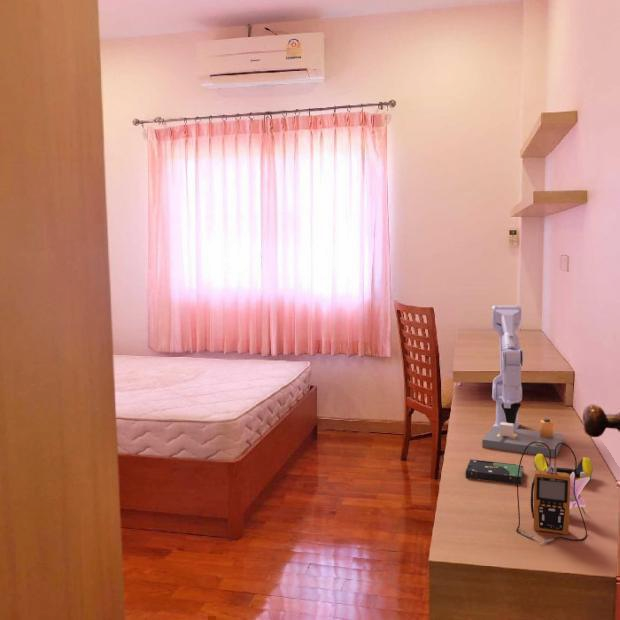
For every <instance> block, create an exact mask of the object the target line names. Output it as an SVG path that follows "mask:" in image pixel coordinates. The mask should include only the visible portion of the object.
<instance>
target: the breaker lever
mask: <svg viewBox="0 0 620 620" xmlns="http://www.w3.org/2000/svg"><path fill="white" fill-rule="evenodd" d="M499 435H502V436H509V437H512V436H513V435H514V424H513V423H505V422H501V423H500V424H499Z"/></svg>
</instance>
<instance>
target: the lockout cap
mask: <svg viewBox="0 0 620 620" xmlns="http://www.w3.org/2000/svg"><path fill="white" fill-rule="evenodd" d="M539 431H540V437H543V438H553V433H554V421H553V420H552V419H550V418H543V419H540V422H539Z"/></svg>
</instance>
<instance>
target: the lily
mask: <svg viewBox="0 0 620 620" xmlns="http://www.w3.org/2000/svg"><path fill="white" fill-rule="evenodd" d="M574 476H575V474H574V472H572V473H571V475H570V509H569V511H570V510H571V509H572V507H576V508H578V505H577V502H576V499H577V501H578V504H579V507H580V509H581V510H582V512H583V514H586V512H585V509H584V508H586V506H587V504H586V502H585V500H584V498H583V497H582V495H581V492H582V490H583V489H584V488H585V487H586V485H587V484H588V483H589V481H590V480H591V478H590V477H585V478H581V479H578V480H575V495H576V499H575V496H574V491H573V487H574ZM589 479H590V480H589Z"/></svg>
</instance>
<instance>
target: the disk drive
mask: <svg viewBox="0 0 620 620" xmlns="http://www.w3.org/2000/svg"><path fill="white" fill-rule="evenodd" d="M518 469H519V464H515V463H506V462H497V461H488V460H480V459H479V460H478V459H471V458H470V459H469V462H468V464H467V467H466V468H465V479H470V478H471V480H478V479H480V481H486V480H487V482H495V483H502V484H503V483H504V484H505V483H506V484H512V485H517V476H518ZM523 478H524V465H520V470H519V478H518V486H519V485H520V486H521V485H523Z"/></svg>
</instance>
